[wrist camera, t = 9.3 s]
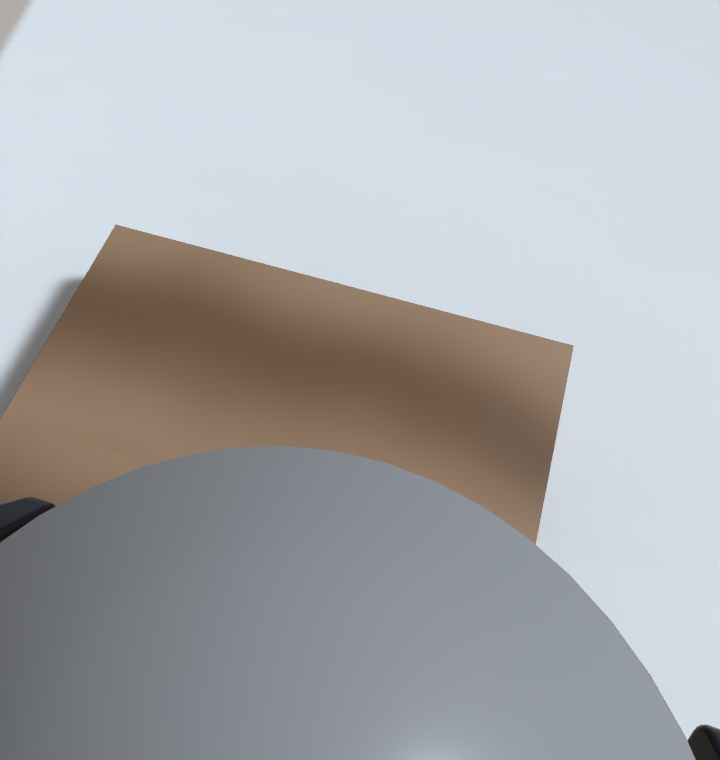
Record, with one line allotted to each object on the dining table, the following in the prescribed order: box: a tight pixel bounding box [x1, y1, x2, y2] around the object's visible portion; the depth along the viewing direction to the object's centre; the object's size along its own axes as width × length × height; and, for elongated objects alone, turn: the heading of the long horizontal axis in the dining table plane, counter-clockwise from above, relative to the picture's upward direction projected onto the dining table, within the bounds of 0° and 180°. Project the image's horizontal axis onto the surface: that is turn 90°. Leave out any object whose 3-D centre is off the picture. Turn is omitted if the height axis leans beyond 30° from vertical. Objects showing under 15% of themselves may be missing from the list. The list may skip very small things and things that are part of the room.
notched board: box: [0, 225, 573, 544], centre depth 14 cm, size 20×14×2 cm
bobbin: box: [0, 446, 696, 760], centre depth 9 cm, size 6×6×13 cm
